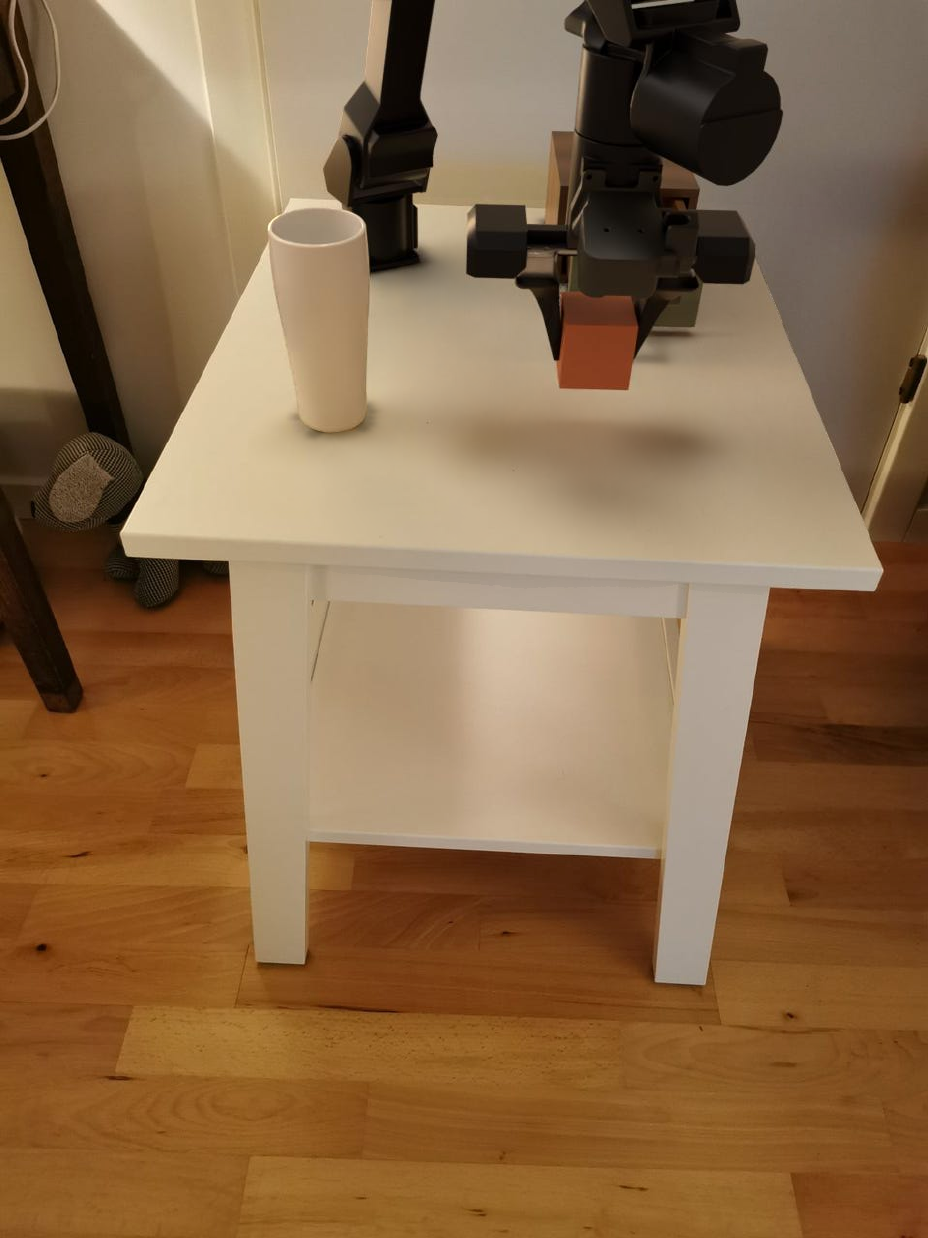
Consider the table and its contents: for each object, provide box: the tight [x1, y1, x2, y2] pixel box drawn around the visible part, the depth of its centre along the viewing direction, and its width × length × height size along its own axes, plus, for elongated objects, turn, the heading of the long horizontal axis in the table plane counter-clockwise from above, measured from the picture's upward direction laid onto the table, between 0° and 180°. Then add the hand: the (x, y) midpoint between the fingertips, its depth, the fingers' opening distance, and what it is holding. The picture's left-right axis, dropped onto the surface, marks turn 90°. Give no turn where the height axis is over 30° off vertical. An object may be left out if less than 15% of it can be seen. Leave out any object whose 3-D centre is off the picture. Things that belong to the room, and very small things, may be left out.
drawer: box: [565, 197, 704, 328], centre depth 86 cm, size 18×11×7 cm, turn 179°
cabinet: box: [544, 130, 701, 284], centre depth 96 cm, size 15×13×9 cm
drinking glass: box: [267, 206, 371, 433], centre depth 71 cm, size 7×7×15 cm
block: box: [555, 291, 638, 391], centre depth 70 cm, size 5×5×5 cm
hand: (592, 358), depth 71 cm, fingers closed on block, 5 cm apart
